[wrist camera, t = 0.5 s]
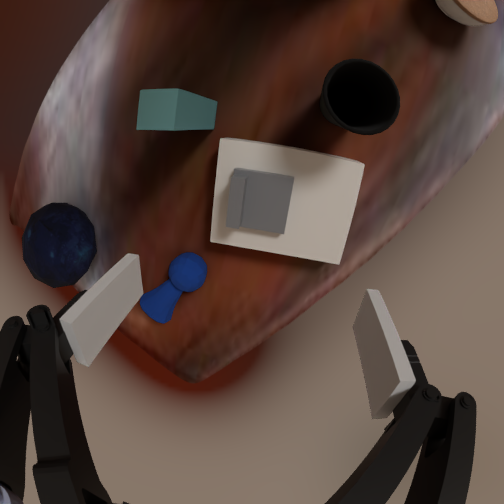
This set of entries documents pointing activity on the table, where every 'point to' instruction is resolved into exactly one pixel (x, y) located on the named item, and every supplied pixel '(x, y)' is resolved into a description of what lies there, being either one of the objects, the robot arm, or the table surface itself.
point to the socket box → (292, 199)
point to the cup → (360, 97)
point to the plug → (174, 110)
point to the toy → (174, 286)
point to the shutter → (259, 200)
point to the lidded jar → (470, 11)
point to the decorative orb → (58, 244)
